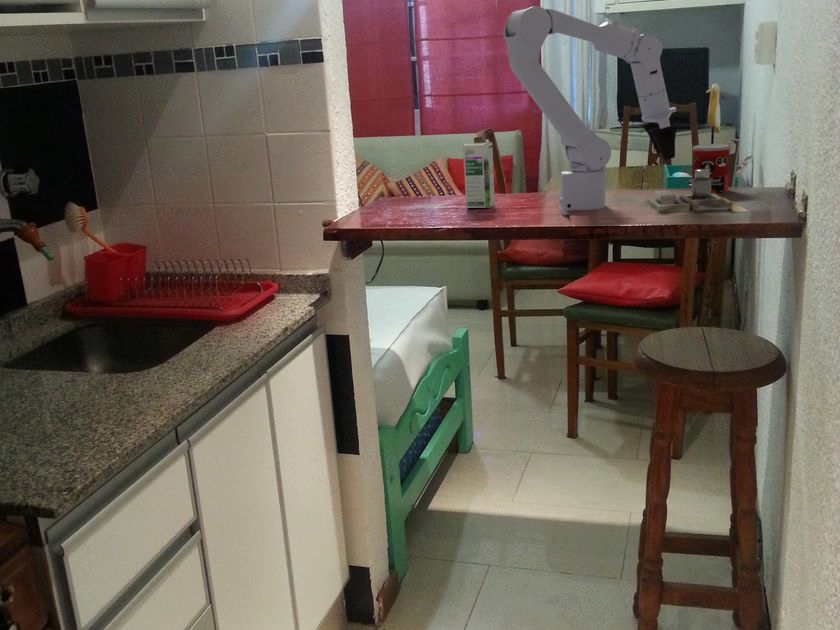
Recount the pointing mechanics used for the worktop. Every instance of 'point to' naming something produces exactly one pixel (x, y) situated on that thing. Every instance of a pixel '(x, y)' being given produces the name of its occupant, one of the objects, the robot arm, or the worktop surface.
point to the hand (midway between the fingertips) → (665, 155)
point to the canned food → (712, 165)
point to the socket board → (695, 205)
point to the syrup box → (478, 175)
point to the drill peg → (701, 185)
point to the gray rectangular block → (665, 197)
